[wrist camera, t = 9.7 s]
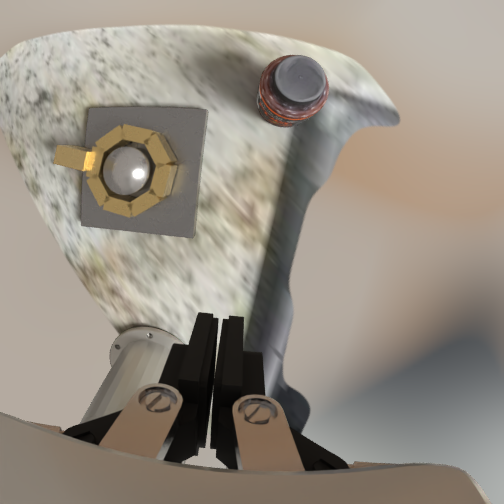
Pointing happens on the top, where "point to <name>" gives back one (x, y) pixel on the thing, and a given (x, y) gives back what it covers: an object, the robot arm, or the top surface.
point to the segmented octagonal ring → (96, 159)
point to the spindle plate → (185, 177)
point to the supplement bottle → (291, 90)
